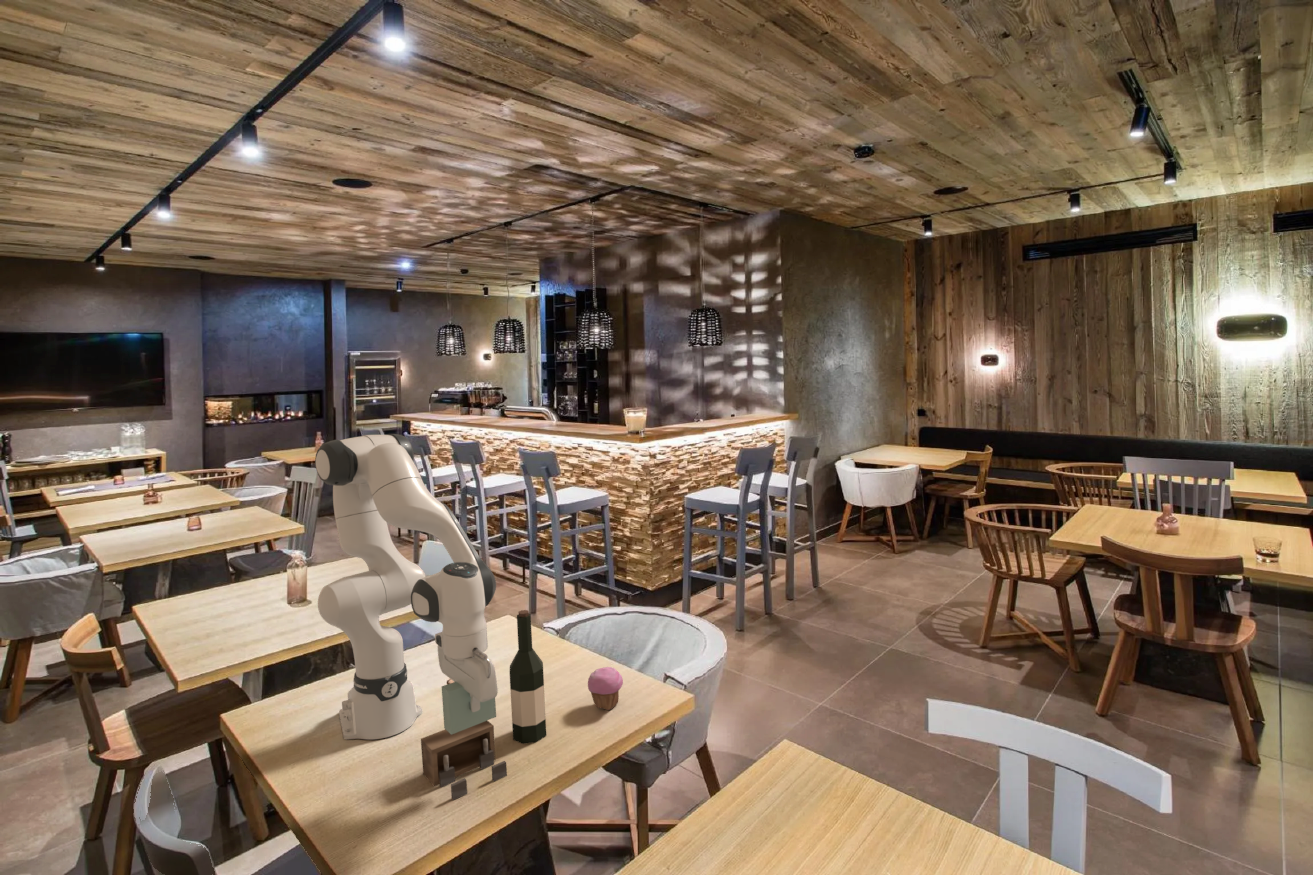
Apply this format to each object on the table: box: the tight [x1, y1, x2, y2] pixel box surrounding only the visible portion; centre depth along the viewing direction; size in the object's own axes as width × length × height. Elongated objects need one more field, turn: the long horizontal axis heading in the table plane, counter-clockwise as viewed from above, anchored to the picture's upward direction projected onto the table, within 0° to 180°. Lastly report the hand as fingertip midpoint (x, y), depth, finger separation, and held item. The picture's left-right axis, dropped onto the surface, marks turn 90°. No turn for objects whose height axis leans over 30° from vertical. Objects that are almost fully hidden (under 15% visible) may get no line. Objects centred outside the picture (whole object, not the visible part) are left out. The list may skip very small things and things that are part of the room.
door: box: [441, 681, 497, 735], centre depth 139 cm, size 5×10×9 cm, turn 131°
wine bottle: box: [509, 609, 547, 745], centre depth 158 cm, size 8×8×30 cm
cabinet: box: [420, 720, 508, 801], centre depth 144 cm, size 13×14×8 cm
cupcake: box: [587, 666, 624, 711], centre depth 171 cm, size 9×9×10 cm
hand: (469, 705), depth 140 cm, fingers closed on door, 3 cm apart
